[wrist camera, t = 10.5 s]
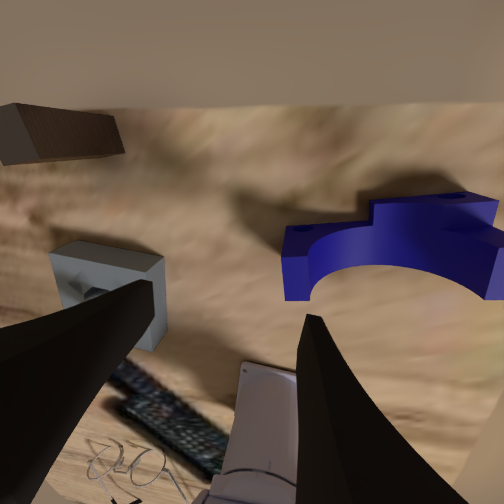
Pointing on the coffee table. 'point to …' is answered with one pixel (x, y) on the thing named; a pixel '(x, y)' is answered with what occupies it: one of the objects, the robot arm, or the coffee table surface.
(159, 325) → the socket block
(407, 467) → the robot arm
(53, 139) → the square bit
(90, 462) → the eyeglasses
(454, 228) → the blue arched block
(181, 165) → the coffee table surface
